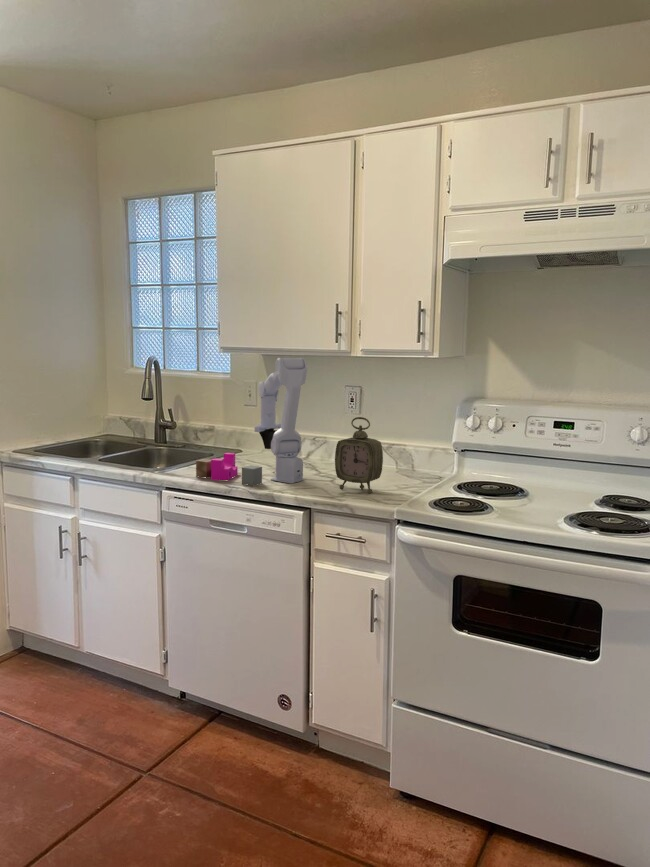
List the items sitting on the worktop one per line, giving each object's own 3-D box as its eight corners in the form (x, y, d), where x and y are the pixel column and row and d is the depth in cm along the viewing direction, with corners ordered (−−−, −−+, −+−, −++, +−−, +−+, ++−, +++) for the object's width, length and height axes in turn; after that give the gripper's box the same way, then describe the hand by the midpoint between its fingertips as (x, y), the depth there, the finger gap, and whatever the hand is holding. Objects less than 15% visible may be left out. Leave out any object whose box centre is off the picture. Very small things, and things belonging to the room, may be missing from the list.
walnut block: (215, 476, 243) (215, 460, 242) (206, 478, 239) (206, 462, 238) (205, 474, 246) (205, 458, 245) (196, 476, 242) (196, 460, 241)
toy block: (227, 481, 236) (227, 460, 234) (211, 480, 237) (211, 459, 236) (241, 473, 250) (241, 453, 249) (225, 472, 251) (225, 452, 250)
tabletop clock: (334, 489, 226) (335, 416, 222) (347, 484, 233) (348, 414, 230) (372, 495, 218) (374, 420, 215) (384, 490, 226) (386, 417, 222)
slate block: (261, 483, 233) (262, 466, 232) (253, 486, 228) (253, 469, 228) (250, 481, 235) (250, 465, 234) (241, 484, 231) (241, 467, 230)
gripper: (270, 411, 261) (270, 445, 263) (248, 414, 249) (247, 450, 251) (285, 412, 258) (285, 447, 260) (263, 415, 245) (263, 452, 247)
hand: (267, 448), depth 255 cm, fingers closed
